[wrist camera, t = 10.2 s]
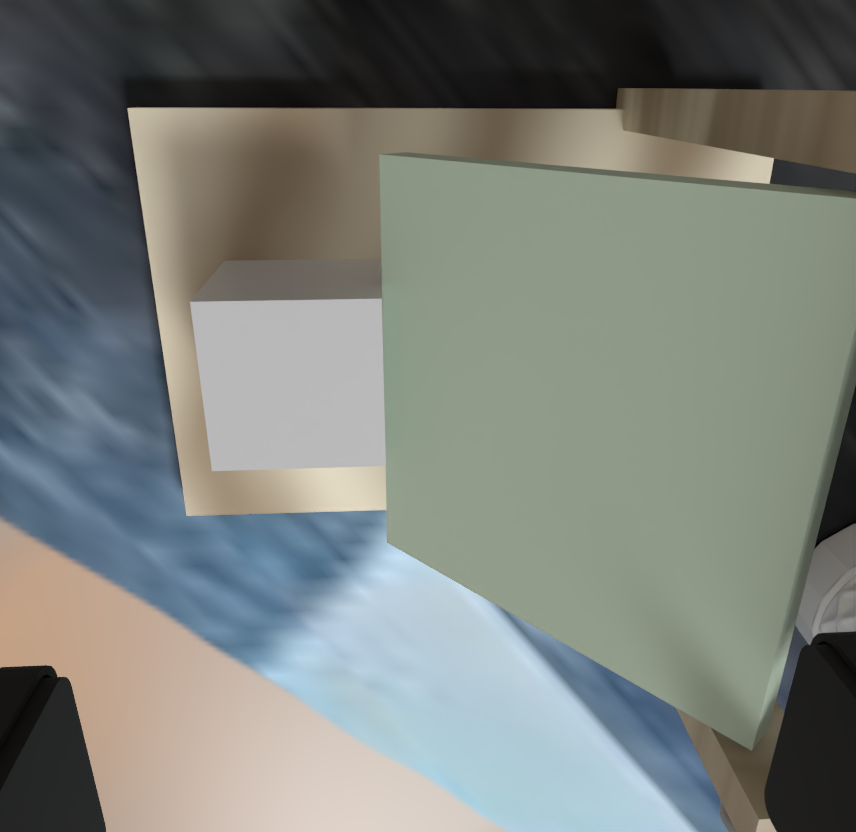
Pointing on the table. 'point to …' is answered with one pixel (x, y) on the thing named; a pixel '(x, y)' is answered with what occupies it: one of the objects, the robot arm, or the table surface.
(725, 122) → the frame
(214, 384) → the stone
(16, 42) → the table surface
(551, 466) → the trapdoor
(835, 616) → the white cup
